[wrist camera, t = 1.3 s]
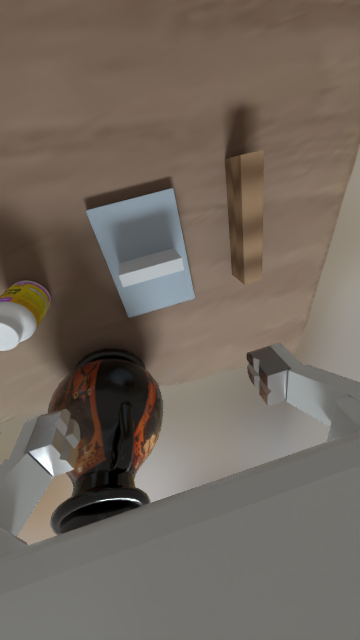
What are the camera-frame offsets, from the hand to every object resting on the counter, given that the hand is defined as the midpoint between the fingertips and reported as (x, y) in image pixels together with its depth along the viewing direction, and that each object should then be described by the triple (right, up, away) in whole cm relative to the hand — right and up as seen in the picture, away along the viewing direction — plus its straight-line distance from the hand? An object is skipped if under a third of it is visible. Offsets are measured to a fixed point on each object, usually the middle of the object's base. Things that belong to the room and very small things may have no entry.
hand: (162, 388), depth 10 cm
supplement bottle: (-26, +7, +31) cm, 41 cm away
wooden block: (+11, +21, +32) cm, 40 cm away
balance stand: (-5, +14, +32) cm, 35 cm away
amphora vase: (-16, -10, +44) cm, 47 cm away
